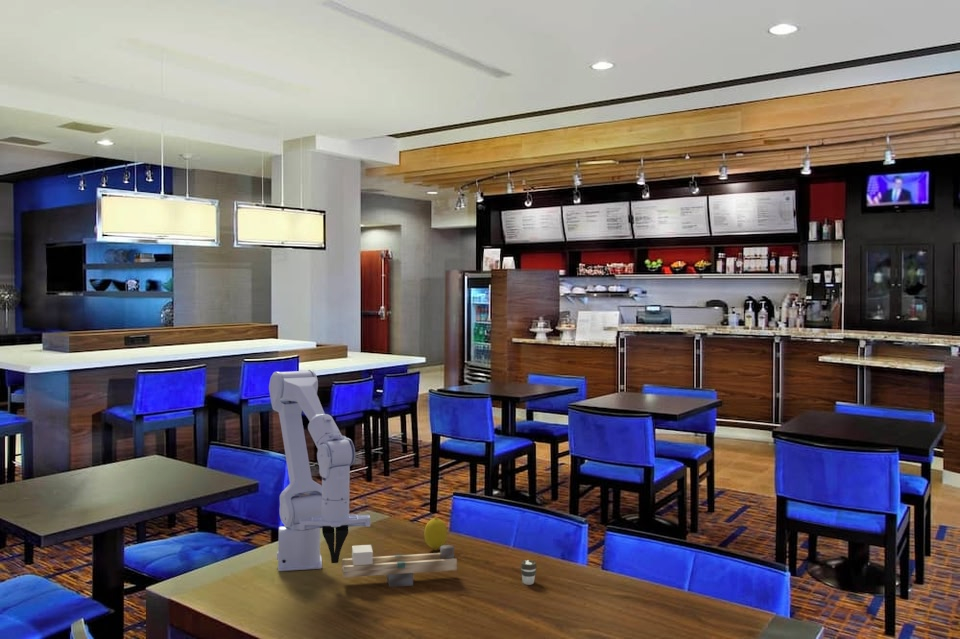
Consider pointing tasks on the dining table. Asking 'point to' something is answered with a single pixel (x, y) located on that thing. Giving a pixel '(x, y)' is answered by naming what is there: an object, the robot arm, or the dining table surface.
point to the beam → (403, 566)
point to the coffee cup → (528, 571)
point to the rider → (362, 555)
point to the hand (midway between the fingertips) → (334, 561)
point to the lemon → (435, 533)
